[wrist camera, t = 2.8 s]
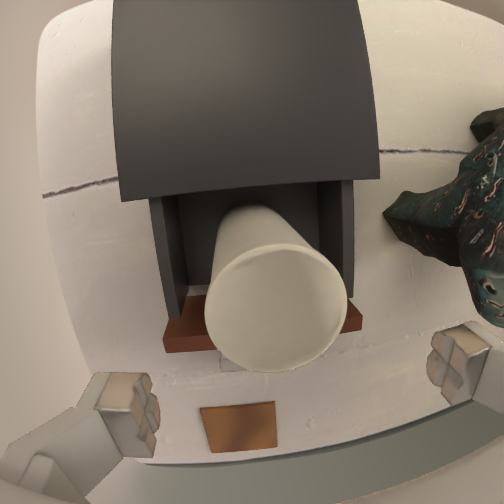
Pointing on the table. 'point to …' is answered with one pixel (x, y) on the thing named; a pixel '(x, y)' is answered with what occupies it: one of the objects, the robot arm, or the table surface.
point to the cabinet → (240, 95)
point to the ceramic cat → (465, 218)
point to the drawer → (204, 240)
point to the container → (271, 293)
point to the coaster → (240, 427)
